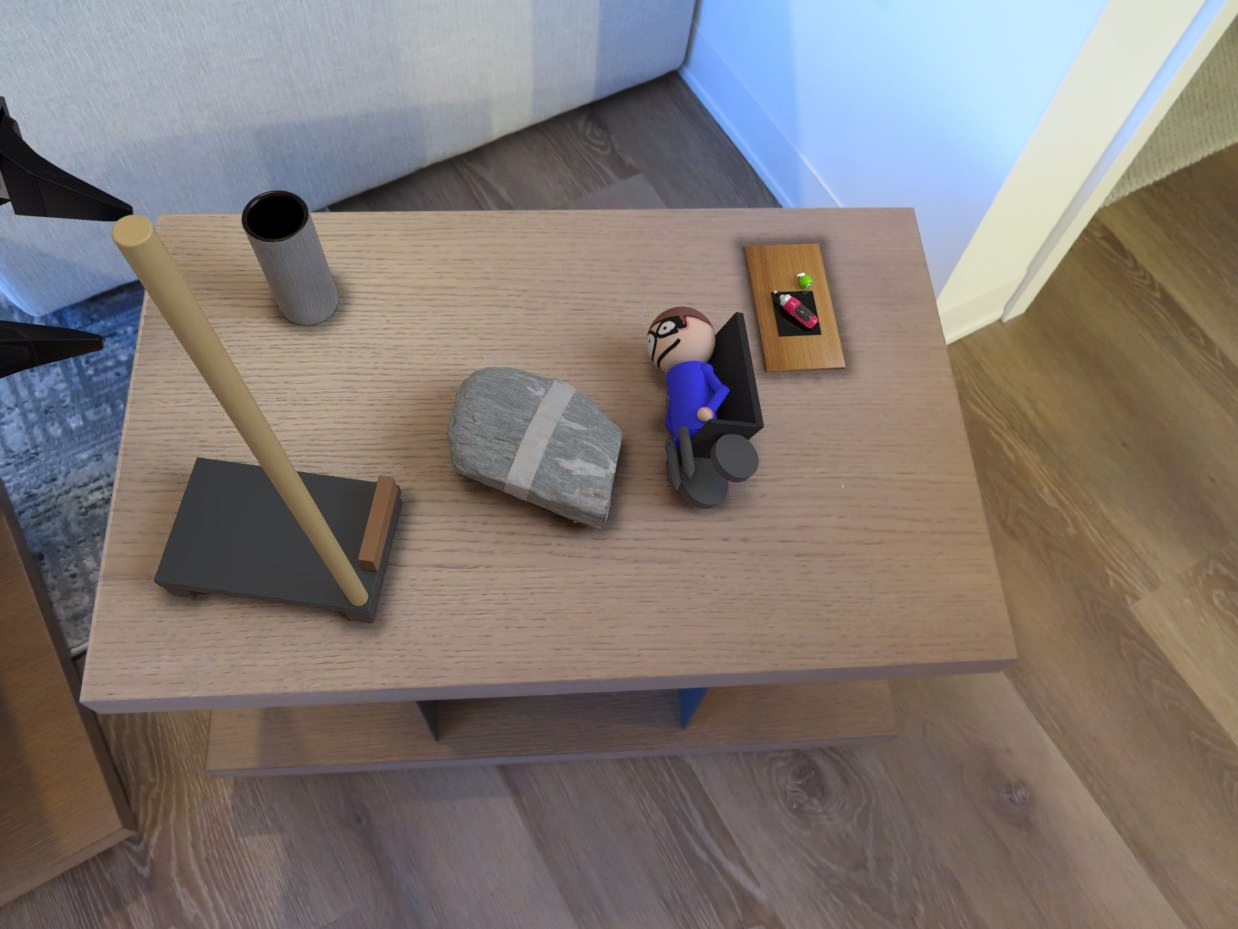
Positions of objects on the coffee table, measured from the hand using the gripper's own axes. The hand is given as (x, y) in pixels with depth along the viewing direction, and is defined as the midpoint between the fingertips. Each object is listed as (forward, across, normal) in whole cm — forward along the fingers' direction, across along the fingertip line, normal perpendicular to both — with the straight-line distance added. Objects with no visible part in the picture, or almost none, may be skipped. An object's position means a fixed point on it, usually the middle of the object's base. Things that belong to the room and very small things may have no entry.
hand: (118, 275), depth 56 cm
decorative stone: (+28, -5, +9) cm, 30 cm away
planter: (+10, +9, +14) cm, 20 cm away
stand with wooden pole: (+11, -11, +13) cm, 21 cm away
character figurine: (+39, -1, +6) cm, 40 cm away
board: (+48, +9, +3) cm, 49 cm away
